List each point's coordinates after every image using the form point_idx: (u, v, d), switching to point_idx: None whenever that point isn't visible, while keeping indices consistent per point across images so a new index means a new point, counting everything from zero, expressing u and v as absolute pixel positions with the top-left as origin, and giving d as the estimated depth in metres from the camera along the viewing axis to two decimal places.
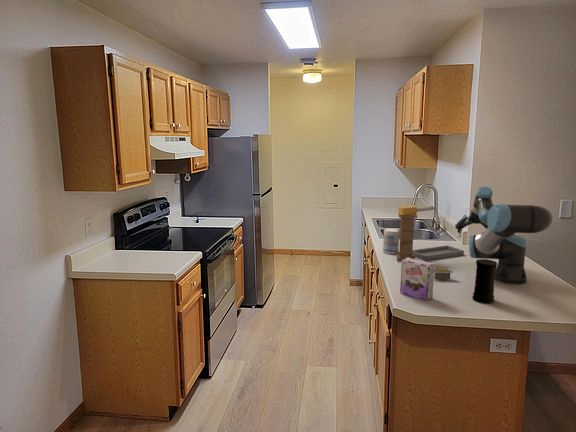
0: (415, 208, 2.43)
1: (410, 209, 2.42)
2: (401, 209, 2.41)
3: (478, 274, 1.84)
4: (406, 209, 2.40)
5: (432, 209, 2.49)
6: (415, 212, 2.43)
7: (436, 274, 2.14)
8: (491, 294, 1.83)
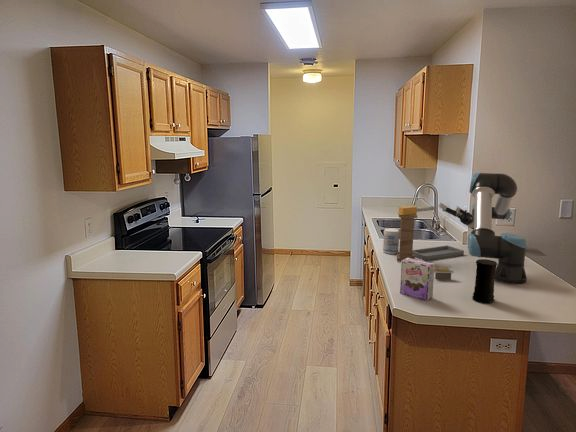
0: (415, 208, 2.43)
1: (410, 209, 2.42)
2: (401, 209, 2.41)
3: (478, 274, 1.84)
4: (406, 209, 2.40)
5: (432, 209, 2.49)
6: (415, 212, 2.43)
7: (437, 274, 2.14)
8: (491, 294, 1.83)
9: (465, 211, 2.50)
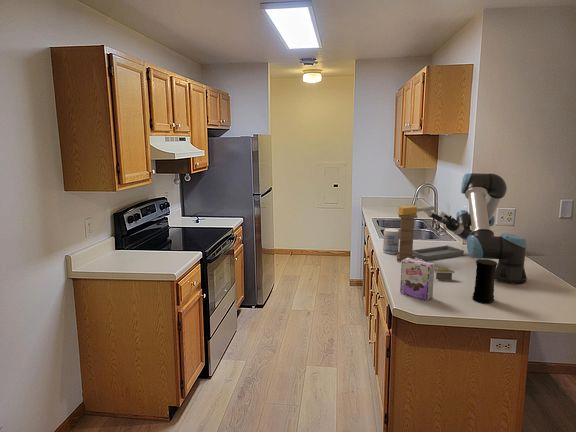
0: (415, 208, 2.43)
1: (410, 209, 2.42)
2: (401, 209, 2.41)
3: (478, 274, 1.84)
4: (406, 209, 2.40)
5: (432, 209, 2.49)
6: (415, 212, 2.43)
7: (438, 274, 2.14)
8: (491, 294, 1.83)
9: (450, 216, 2.47)
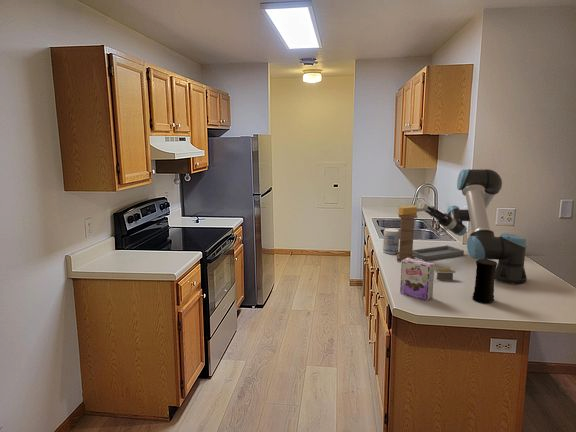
0: (415, 208, 2.43)
1: (410, 209, 2.42)
2: (401, 209, 2.41)
3: (478, 274, 1.84)
4: (406, 209, 2.40)
5: None
6: (415, 212, 2.43)
7: (439, 274, 2.14)
8: (491, 294, 1.83)
9: (432, 208, 2.47)
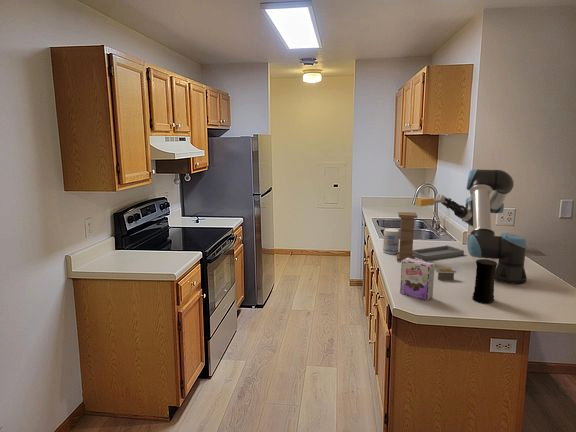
0: (433, 199, 2.47)
1: (428, 200, 2.46)
2: (419, 200, 2.45)
3: (478, 274, 1.84)
4: (424, 200, 2.45)
5: None
6: (432, 203, 2.48)
7: (440, 274, 2.14)
8: (491, 294, 1.83)
9: (449, 200, 2.52)
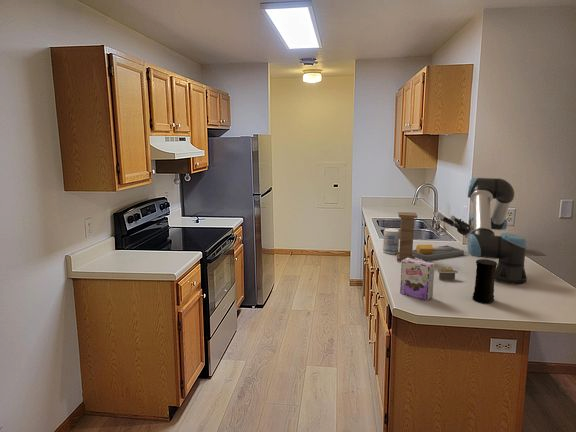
0: (430, 245, 2.59)
1: (425, 245, 2.57)
2: (417, 247, 2.57)
3: (478, 274, 1.84)
4: (421, 245, 2.57)
5: (450, 248, 2.62)
6: (432, 247, 2.57)
7: (441, 274, 2.14)
8: (491, 294, 1.83)
9: (460, 220, 2.52)
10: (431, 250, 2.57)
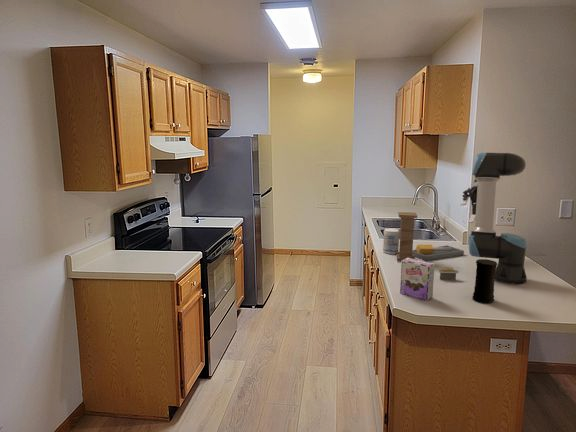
0: (430, 245, 2.59)
1: (425, 245, 2.57)
2: (417, 247, 2.57)
3: (478, 274, 1.84)
4: (421, 245, 2.57)
5: (450, 248, 2.62)
6: (432, 247, 2.57)
7: (442, 274, 2.13)
8: (491, 294, 1.83)
9: None
10: (431, 250, 2.57)
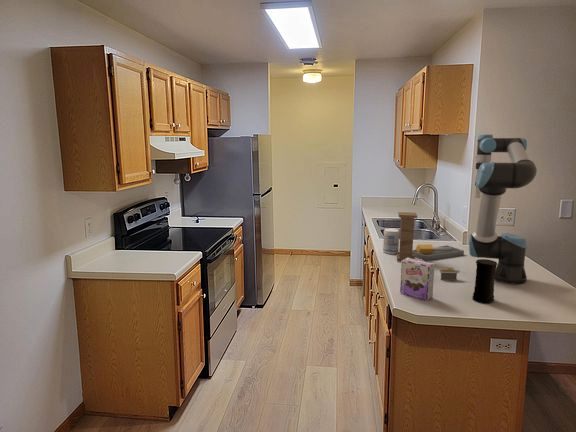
0: (430, 245, 2.59)
1: (425, 245, 2.57)
2: (417, 247, 2.57)
3: (478, 274, 1.84)
4: (421, 245, 2.57)
5: (450, 248, 2.62)
6: (432, 247, 2.57)
7: (442, 274, 2.13)
8: (491, 294, 1.83)
9: None
10: (431, 250, 2.57)
